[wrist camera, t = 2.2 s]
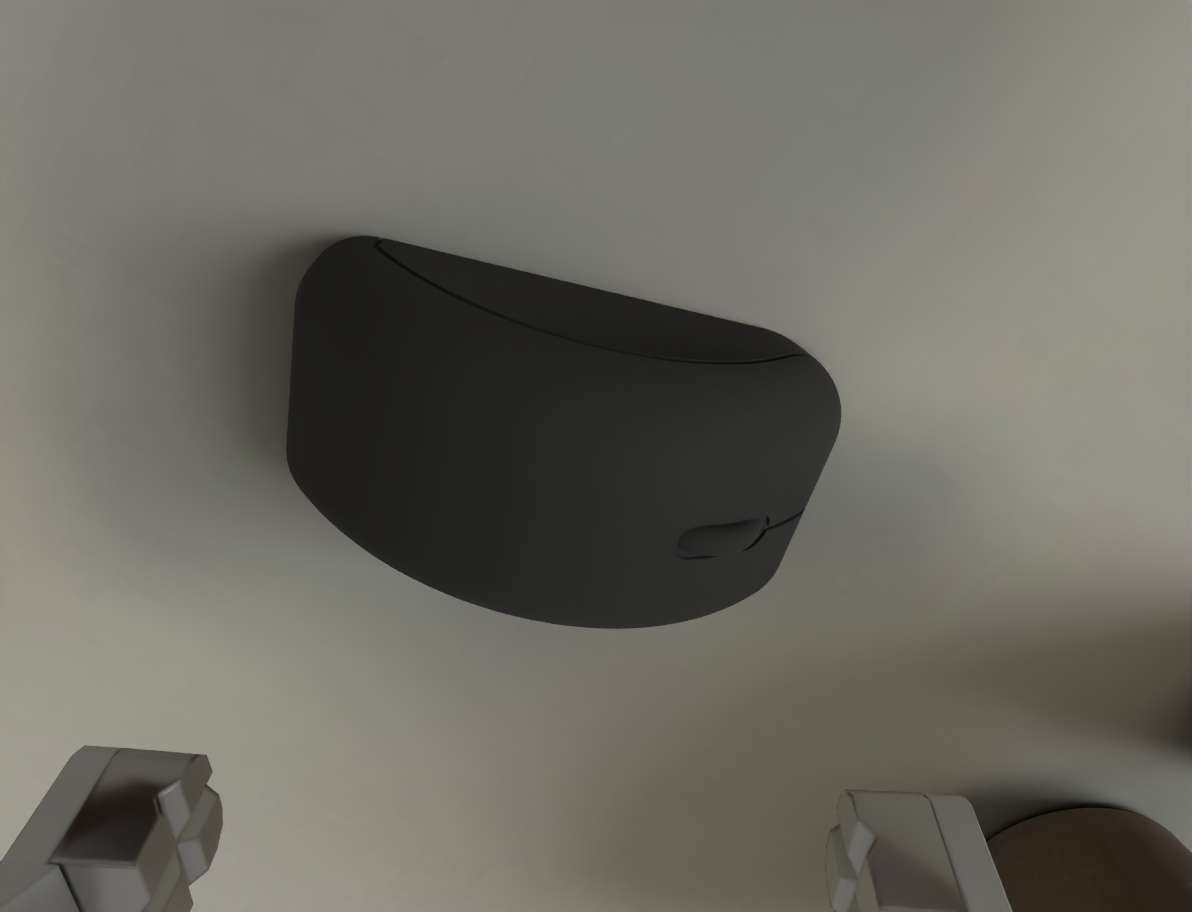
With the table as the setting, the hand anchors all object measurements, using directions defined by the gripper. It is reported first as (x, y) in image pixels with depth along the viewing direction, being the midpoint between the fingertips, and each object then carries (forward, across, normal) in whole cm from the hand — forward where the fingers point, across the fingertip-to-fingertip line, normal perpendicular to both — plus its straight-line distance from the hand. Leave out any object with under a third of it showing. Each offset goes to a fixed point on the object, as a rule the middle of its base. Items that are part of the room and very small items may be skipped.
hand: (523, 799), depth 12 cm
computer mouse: (+10, 0, 0) cm, 10 cm away
